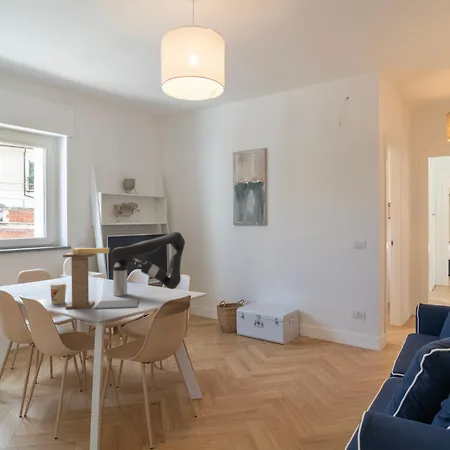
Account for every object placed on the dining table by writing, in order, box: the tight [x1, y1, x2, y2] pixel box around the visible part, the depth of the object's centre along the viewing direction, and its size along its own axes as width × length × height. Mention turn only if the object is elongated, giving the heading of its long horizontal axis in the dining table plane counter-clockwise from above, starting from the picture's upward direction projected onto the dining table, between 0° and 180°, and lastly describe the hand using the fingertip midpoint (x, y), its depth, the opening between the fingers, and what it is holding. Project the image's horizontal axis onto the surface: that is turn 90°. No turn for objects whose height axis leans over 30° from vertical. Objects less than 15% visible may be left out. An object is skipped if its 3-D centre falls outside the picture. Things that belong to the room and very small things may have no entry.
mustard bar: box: [72, 247, 110, 254], centre depth 238 cm, size 10×20×3 cm, turn 99°
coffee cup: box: [49, 282, 67, 305], centre depth 247 cm, size 9×9×12 cm
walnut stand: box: [62, 252, 97, 310], centre depth 237 cm, size 14×16×32 cm
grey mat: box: [94, 299, 140, 310], centre depth 240 cm, size 20×24×1 cm
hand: (126, 257), depth 242 cm, fingers open, 8 cm apart
